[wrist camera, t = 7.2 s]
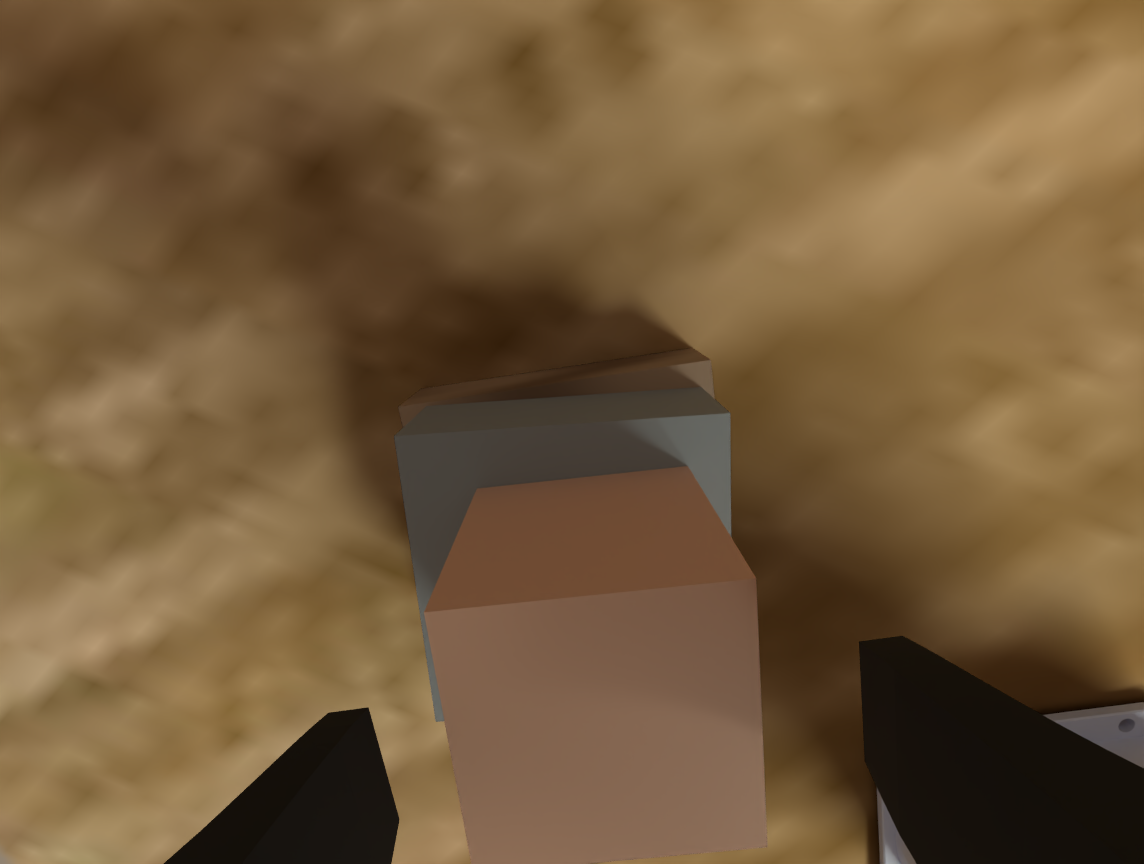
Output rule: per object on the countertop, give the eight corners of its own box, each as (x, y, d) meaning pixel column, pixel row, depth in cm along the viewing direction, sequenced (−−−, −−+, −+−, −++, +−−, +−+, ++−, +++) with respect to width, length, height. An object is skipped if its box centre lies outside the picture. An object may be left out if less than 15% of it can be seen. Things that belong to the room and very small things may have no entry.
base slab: (689, 345, 19) (711, 360, 16) (714, 587, 21) (738, 639, 18) (425, 385, 19) (397, 406, 16) (475, 619, 21) (458, 676, 18)
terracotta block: (688, 465, 13) (756, 577, 8) (700, 652, 14) (767, 847, 9) (477, 488, 13) (423, 612, 8) (505, 671, 14) (472, 874, 10)
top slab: (701, 386, 16) (730, 413, 13) (705, 632, 18) (732, 703, 15) (426, 406, 16) (394, 436, 13) (458, 647, 18) (435, 721, 15)
